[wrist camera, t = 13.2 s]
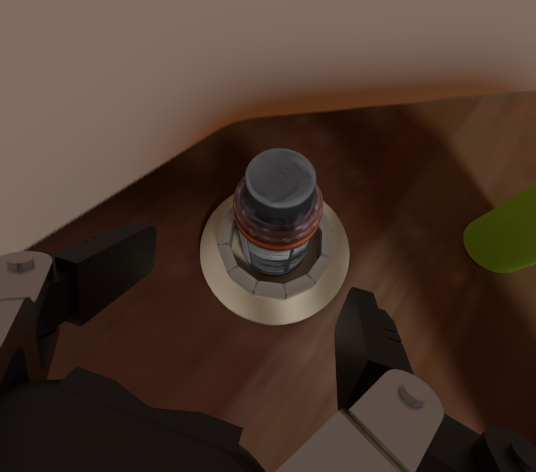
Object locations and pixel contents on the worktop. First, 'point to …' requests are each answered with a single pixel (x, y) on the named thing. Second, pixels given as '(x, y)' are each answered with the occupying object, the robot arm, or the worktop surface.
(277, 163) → the supplement bottle
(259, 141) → the worktop surface
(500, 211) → the soap dispenser
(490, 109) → the worktop surface
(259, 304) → the collar plate
